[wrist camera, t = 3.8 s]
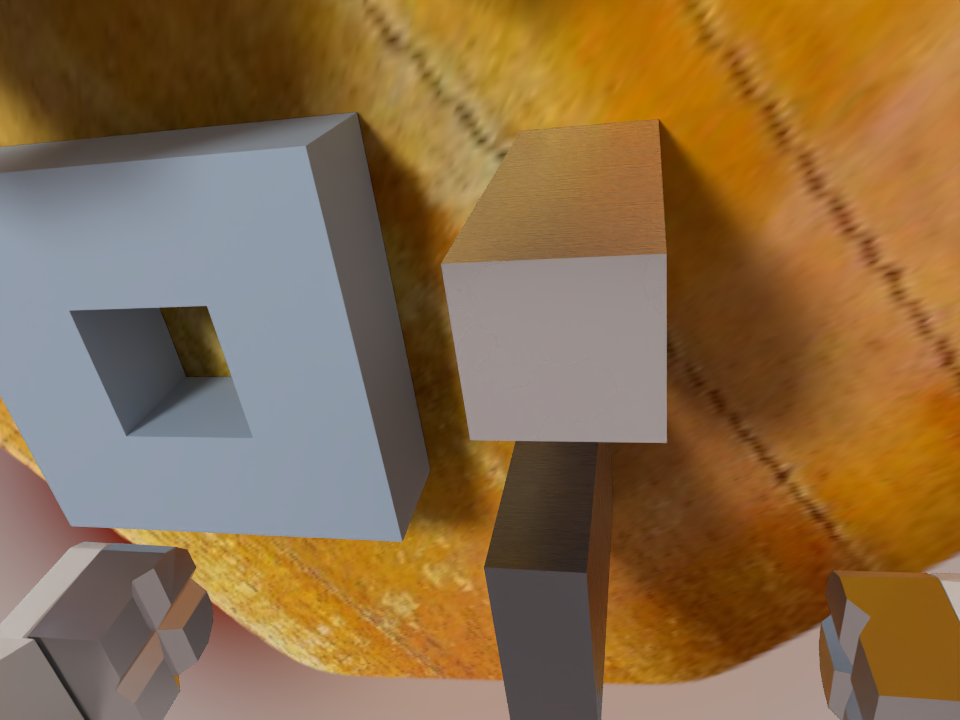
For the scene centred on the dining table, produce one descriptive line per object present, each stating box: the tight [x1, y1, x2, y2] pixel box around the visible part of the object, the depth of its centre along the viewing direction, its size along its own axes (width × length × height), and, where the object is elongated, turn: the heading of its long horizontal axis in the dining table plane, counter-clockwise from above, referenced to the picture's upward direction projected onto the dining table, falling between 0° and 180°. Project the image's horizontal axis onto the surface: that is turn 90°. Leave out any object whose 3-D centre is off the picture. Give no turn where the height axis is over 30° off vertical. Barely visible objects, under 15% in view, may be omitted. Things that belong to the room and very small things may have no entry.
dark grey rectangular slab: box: [484, 441, 613, 720], centre depth 23 cm, size 2×6×10 cm, turn 8°
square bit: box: [441, 119, 667, 443], centre depth 18 cm, size 4×4×10 cm
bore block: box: [0, 112, 430, 542], centre depth 26 cm, size 14×14×4 cm
